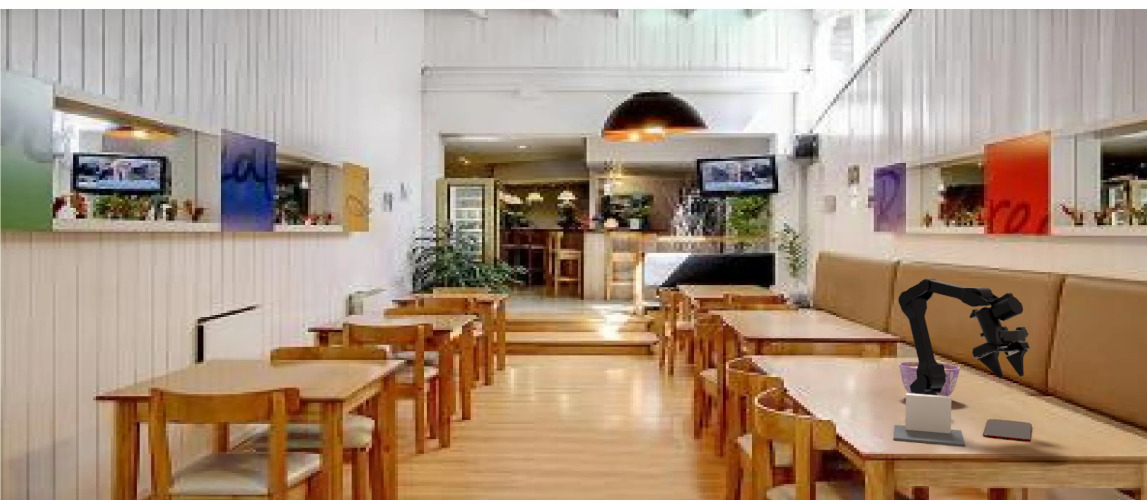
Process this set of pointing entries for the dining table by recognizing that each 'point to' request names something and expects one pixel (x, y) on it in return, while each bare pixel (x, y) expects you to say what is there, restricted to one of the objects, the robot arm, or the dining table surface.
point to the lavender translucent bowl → (910, 376)
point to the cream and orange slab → (928, 413)
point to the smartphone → (1008, 430)
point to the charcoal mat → (929, 436)
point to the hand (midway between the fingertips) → (1011, 377)
